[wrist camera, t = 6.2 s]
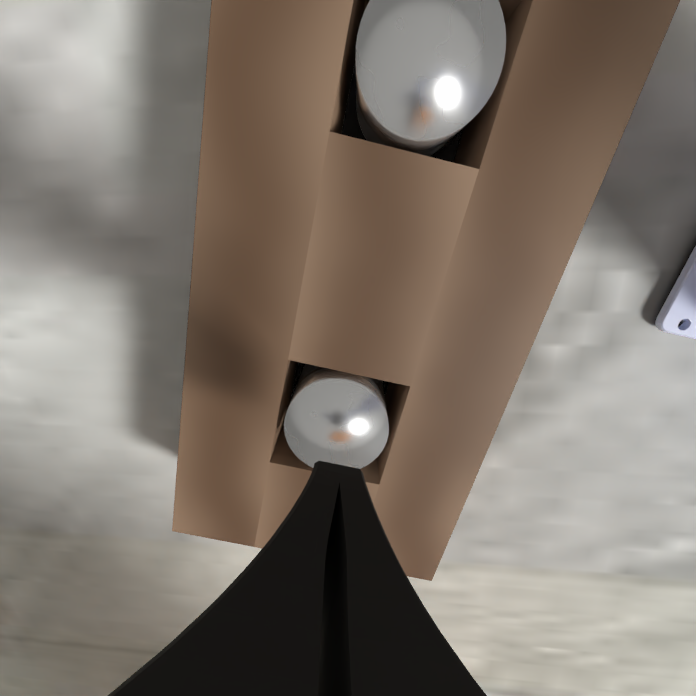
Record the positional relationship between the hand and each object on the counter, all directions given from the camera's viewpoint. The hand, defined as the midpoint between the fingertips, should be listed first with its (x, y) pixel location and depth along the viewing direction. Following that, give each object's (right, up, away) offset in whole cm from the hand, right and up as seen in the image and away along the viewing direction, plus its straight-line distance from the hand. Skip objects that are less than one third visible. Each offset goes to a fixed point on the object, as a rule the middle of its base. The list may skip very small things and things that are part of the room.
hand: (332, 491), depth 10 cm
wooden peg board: (+1, +8, +5) cm, 10 cm away
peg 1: (0, +2, +7) cm, 7 cm away
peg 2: (+3, +13, +3) cm, 14 cm away
